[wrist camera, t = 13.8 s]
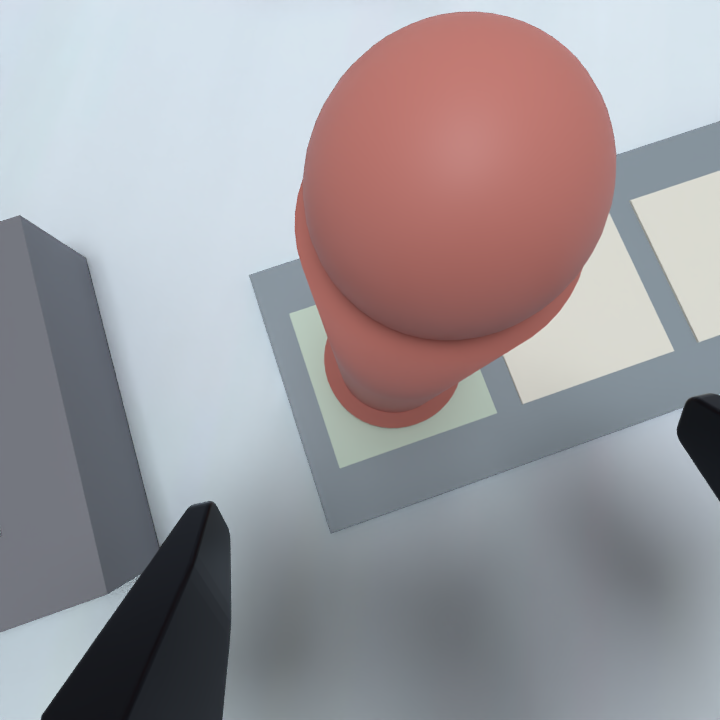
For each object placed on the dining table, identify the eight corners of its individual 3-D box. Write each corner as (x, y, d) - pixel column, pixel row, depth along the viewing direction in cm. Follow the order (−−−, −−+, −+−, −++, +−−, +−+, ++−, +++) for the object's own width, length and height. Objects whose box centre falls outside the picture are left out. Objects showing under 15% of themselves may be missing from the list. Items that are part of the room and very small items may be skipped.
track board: (880, 334, 17) (896, 331, 17) (331, 531, 16) (330, 534, 16) (758, 112, 19) (768, 104, 18) (251, 278, 18) (248, 273, 17)
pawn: (484, 367, 17) (922, 98, 4) (387, 456, 16) (485, 527, 3) (395, 274, 17) (490, -239, 4) (299, 357, 17) (69, 65, 4)
